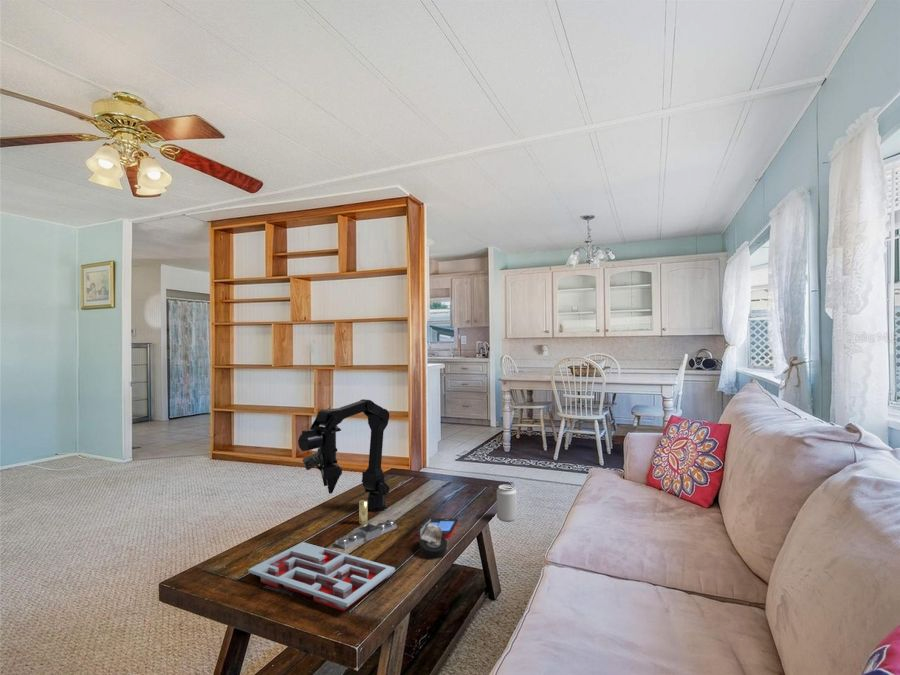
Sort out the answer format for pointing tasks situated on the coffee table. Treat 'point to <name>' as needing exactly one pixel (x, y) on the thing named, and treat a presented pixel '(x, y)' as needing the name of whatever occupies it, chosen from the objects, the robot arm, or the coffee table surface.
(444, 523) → the game console
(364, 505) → the link pin
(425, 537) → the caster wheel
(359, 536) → the studded bracket plate
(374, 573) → the maze game
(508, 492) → the can
